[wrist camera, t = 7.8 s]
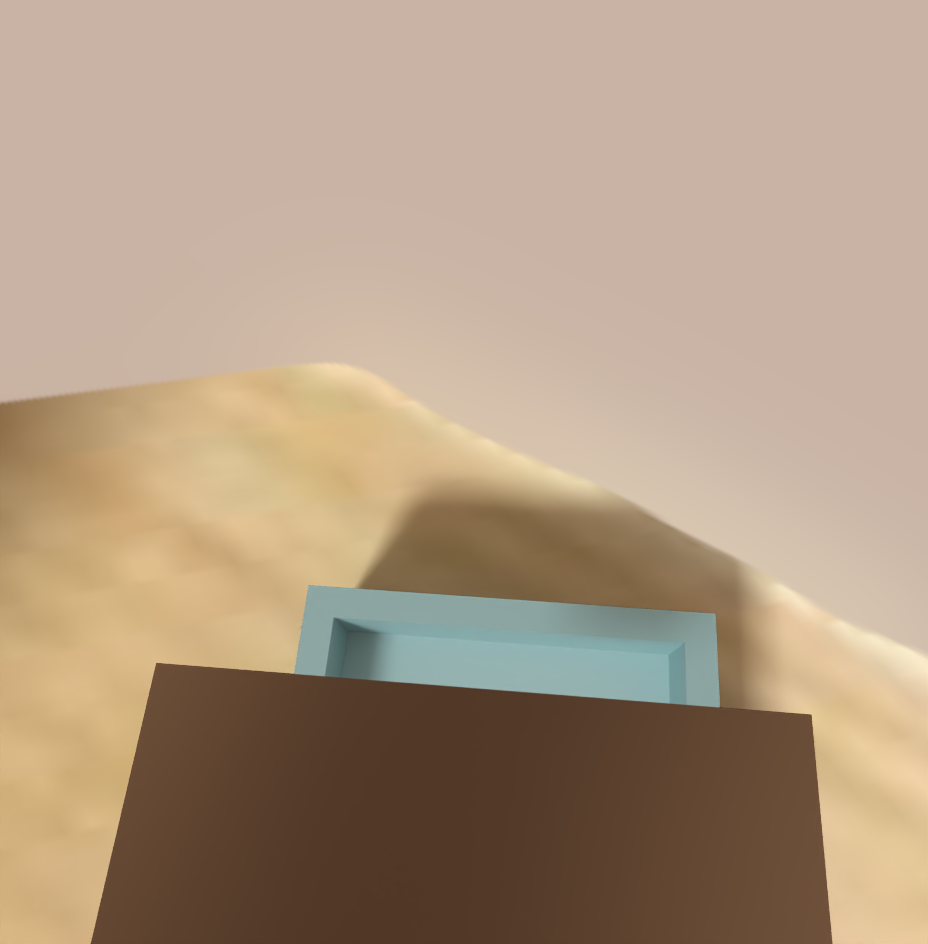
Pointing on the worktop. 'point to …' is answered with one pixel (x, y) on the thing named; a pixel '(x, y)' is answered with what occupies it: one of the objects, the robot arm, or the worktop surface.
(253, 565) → the worktop surface
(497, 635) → the socket
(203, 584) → the worktop surface
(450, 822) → the peg
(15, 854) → the worktop surface
